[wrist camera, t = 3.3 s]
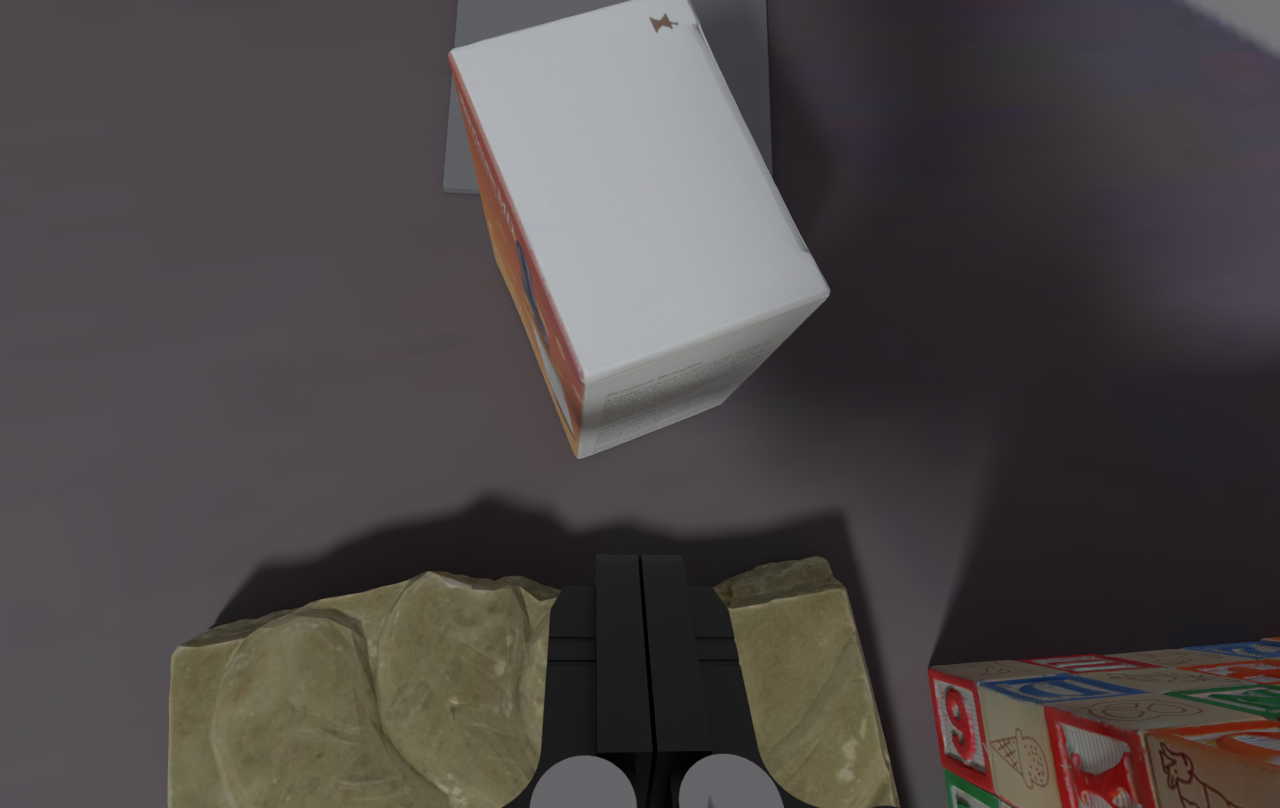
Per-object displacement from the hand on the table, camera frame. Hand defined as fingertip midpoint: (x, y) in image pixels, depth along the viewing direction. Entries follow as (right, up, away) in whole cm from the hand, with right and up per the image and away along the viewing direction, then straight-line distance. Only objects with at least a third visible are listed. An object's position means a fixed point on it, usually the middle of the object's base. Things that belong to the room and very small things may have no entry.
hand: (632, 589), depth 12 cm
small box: (-1, +6, +12) cm, 14 cm away
